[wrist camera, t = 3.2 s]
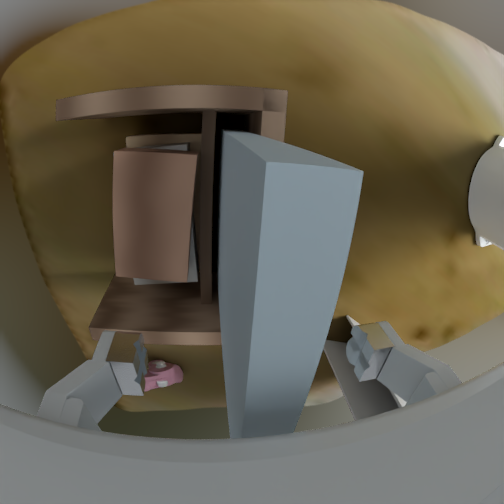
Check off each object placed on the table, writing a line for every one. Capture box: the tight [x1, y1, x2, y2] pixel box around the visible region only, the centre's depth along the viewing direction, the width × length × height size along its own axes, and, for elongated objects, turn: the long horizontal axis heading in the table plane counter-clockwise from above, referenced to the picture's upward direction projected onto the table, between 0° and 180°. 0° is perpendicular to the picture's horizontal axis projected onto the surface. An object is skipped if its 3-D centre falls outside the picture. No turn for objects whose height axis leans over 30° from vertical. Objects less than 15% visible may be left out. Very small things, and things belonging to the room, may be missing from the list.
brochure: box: [323, 315, 407, 421], centre depth 28 cm, size 14×6×30 cm, turn 49°
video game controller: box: [144, 360, 183, 392], centre depth 35 cm, size 10×5×7 cm, turn 96°
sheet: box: [217, 129, 364, 439], centre depth 18 cm, size 2×14×24 cm, turn 176°
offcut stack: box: [113, 133, 202, 285], centre depth 24 cm, size 7×13×8 cm, turn 176°
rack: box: [56, 85, 288, 345], centre depth 23 cm, size 15×20×10 cm
